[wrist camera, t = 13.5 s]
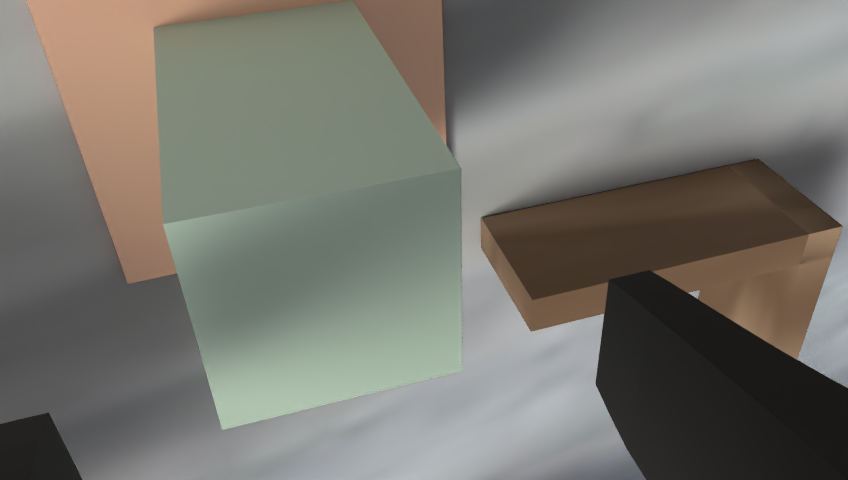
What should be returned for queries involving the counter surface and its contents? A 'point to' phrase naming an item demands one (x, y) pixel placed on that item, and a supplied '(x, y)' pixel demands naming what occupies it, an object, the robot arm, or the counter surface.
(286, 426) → the counter surface
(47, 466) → the robot arm
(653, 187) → the channel
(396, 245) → the sage block
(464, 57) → the counter surface
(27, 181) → the counter surface
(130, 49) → the tile
